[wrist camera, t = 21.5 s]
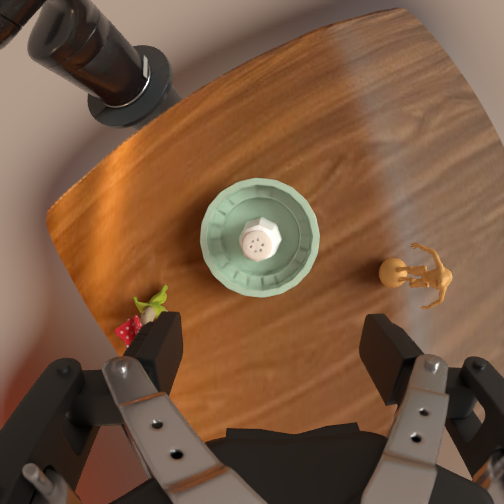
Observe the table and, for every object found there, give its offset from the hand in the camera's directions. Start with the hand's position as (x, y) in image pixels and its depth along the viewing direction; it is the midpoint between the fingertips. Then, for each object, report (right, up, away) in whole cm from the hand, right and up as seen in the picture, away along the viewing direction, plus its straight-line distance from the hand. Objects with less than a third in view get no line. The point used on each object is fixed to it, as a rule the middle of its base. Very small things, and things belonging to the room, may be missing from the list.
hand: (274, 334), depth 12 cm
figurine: (+19, +1, +26) cm, 32 cm away
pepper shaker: (0, +5, +26) cm, 26 cm away
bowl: (0, +6, +26) cm, 27 cm away
